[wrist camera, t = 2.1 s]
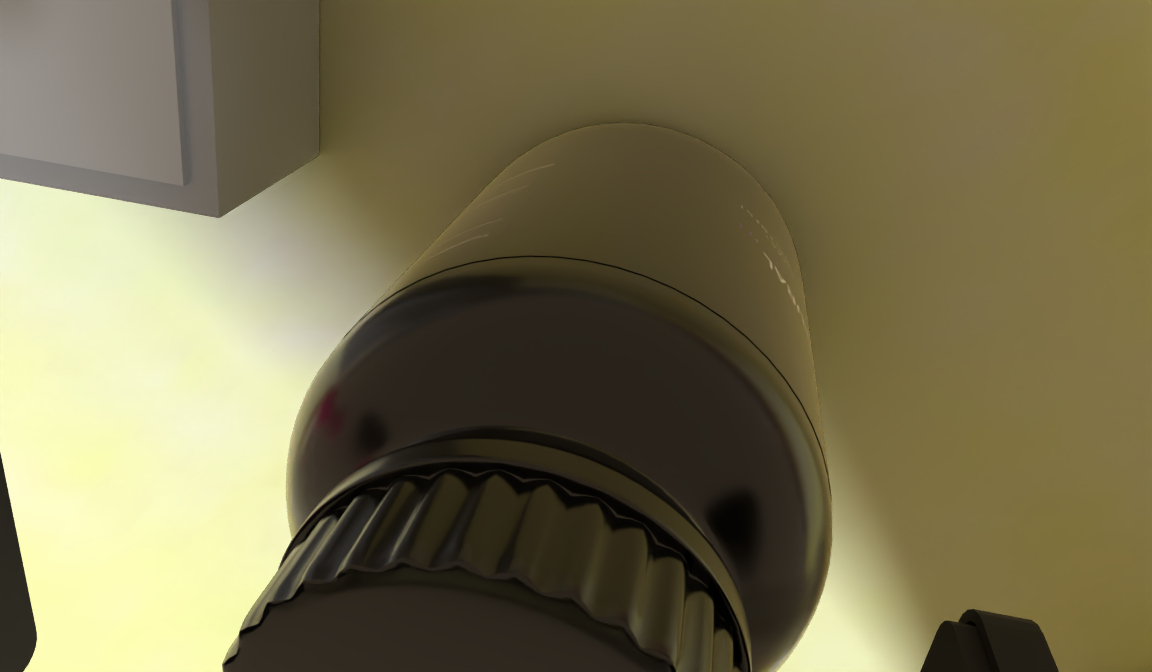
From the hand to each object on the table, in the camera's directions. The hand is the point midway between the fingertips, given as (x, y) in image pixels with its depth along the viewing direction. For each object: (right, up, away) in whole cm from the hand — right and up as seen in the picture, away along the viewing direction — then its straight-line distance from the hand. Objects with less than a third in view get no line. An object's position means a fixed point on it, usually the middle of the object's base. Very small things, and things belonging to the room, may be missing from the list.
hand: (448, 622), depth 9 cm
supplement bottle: (+2, +4, +10) cm, 11 cm away
